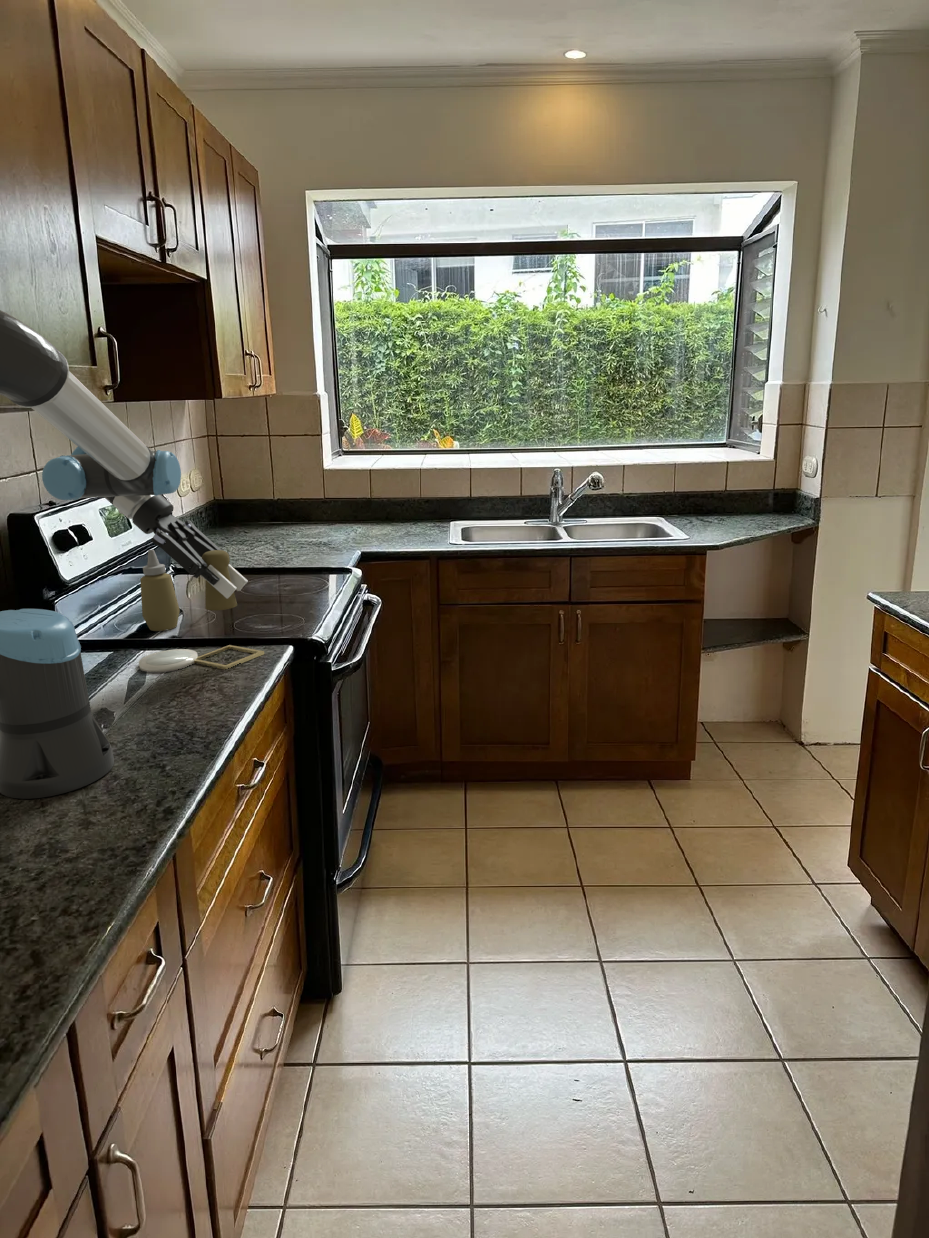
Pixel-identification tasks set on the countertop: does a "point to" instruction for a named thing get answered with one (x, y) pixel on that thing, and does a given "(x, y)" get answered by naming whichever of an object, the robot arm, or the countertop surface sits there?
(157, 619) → the squeeze bottle
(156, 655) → the saucer
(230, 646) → the square frame
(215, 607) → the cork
